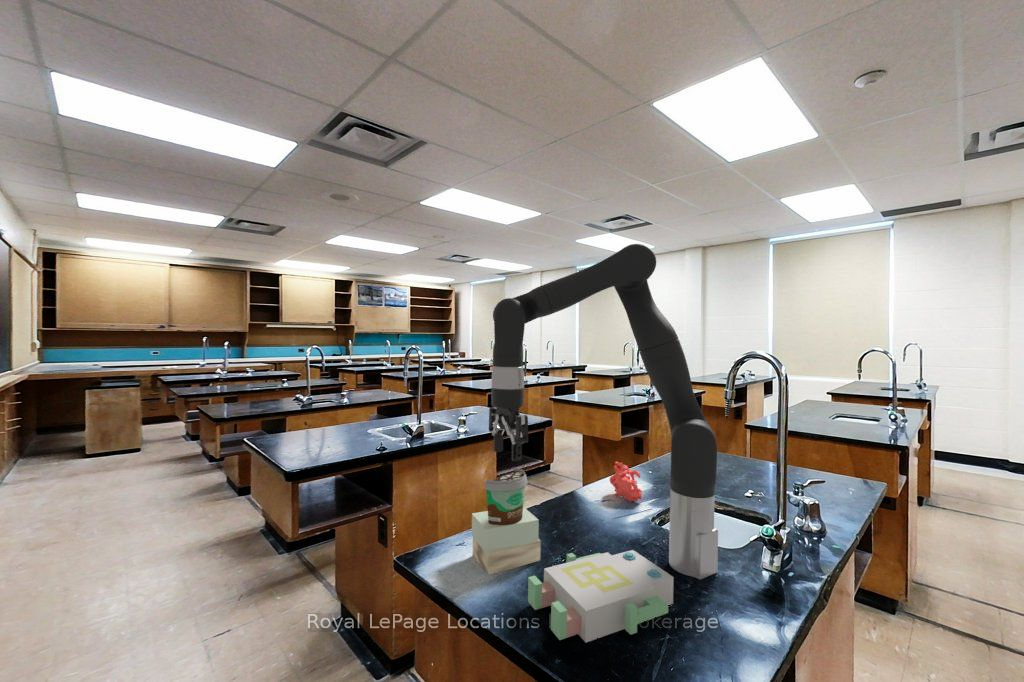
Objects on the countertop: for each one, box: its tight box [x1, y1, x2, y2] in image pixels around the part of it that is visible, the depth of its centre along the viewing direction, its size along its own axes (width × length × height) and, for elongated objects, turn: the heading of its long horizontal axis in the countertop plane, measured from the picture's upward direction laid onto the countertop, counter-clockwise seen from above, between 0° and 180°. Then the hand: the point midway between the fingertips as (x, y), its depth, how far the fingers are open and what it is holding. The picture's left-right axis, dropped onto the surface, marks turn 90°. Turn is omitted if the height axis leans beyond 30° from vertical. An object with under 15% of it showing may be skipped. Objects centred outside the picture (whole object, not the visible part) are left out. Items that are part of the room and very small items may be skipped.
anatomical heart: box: [609, 461, 643, 503], centre depth 136 cm, size 9×12×12 cm
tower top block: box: [471, 506, 540, 553], centre depth 98 cm, size 9×13×5 cm
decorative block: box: [527, 549, 675, 643], centre depth 81 cm, size 26×6×20 cm
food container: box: [483, 467, 528, 525], centre depth 96 cm, size 12×6×10 cm, turn 144°
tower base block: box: [472, 536, 542, 576], centre depth 98 cm, size 9×13×5 cm
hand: (507, 455), depth 98 cm, fingers open, 8 cm apart
